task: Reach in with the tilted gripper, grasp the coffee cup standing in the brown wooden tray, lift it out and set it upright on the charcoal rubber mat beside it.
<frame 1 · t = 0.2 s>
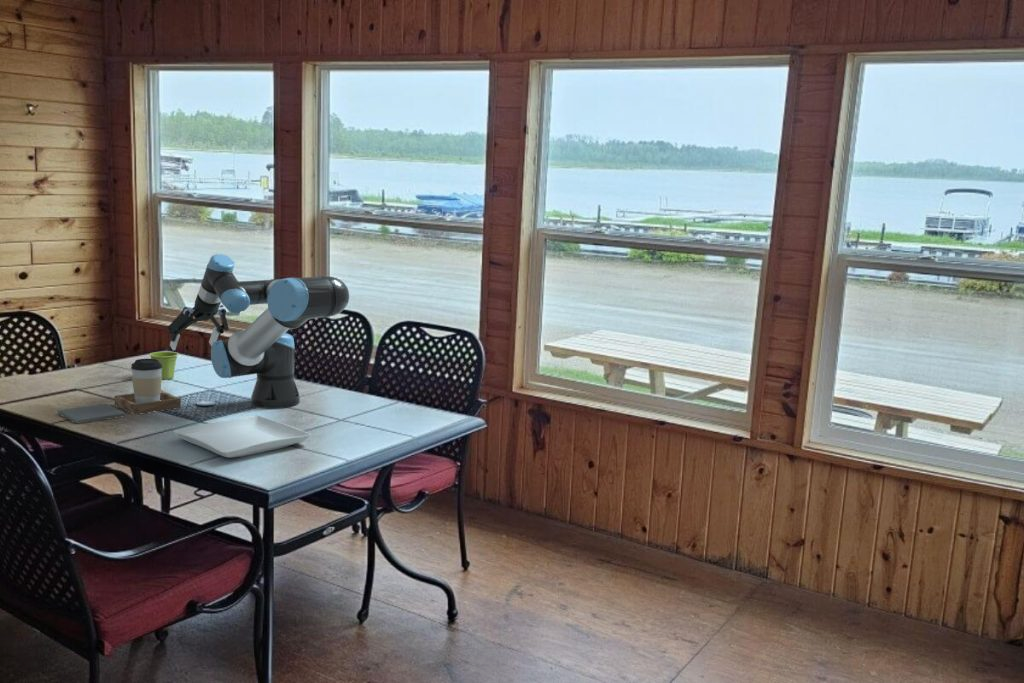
hand: (192, 346, 301), 15 cm above the table, tool tilted 35°, fingers open, 13 cm apart
brown wooden tray: (147, 406, 282), on the table
rubber mat: (91, 415, 270), on the table
square plate: (242, 445, 250), on the table
plant pot: (164, 378, 321), on the table
coffee cup: (147, 407, 282), resting in brown wooden tray
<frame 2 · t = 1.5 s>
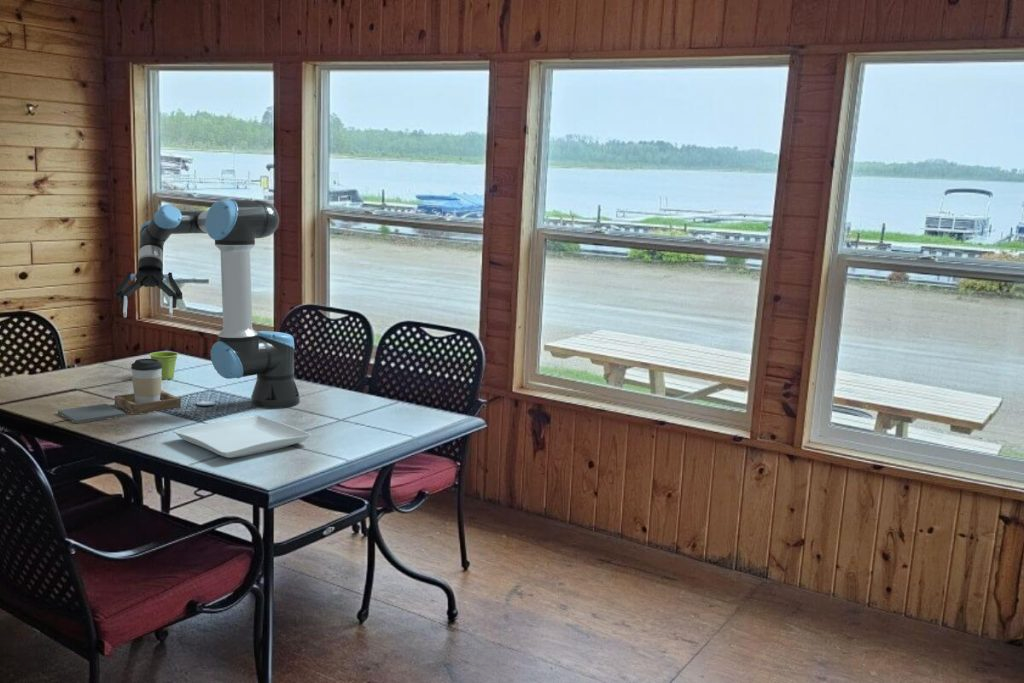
hand: (147, 315, 288), 27 cm above the table, tool tilted 45°, fingers open, 13 cm apart
nothing on the table moved.
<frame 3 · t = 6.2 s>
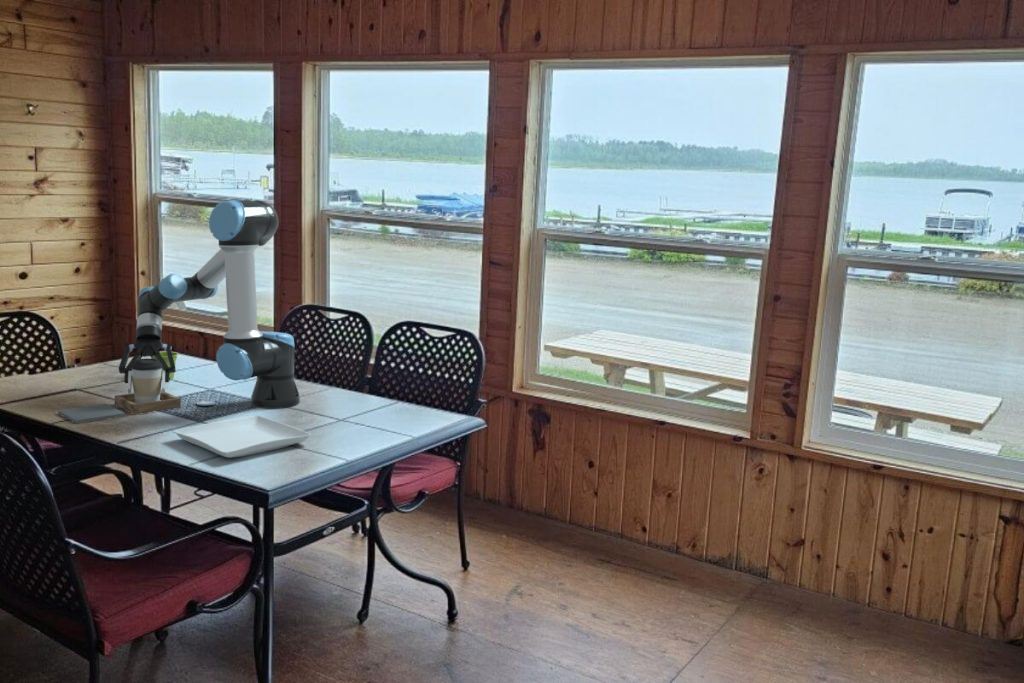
hand: (146, 390, 278), 6 cm above the table, tool tilted 45°, fingers closed on coffee cup, 9 cm apart
coffee cup: (147, 407, 282), resting in brown wooden tray, touching gripper
everything else where it was.
when the fingers open (8 cm above the table, at t = 13.0 s): coffee cup drops 1 cm, resting on rubber mat.
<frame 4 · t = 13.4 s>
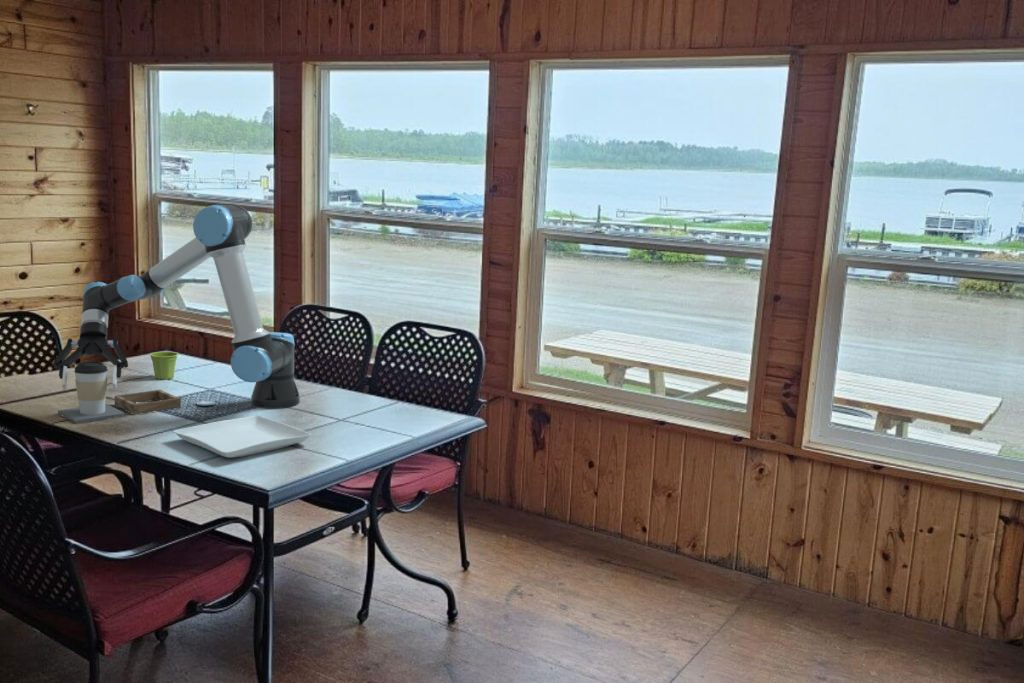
hand: (89, 386, 267), 9 cm above the table, tool tilted 45°, fingers open, 13 cm apart
coffee cup: (92, 412, 270), point 1 cm above the table, touching rubber mat
everything else where it was.
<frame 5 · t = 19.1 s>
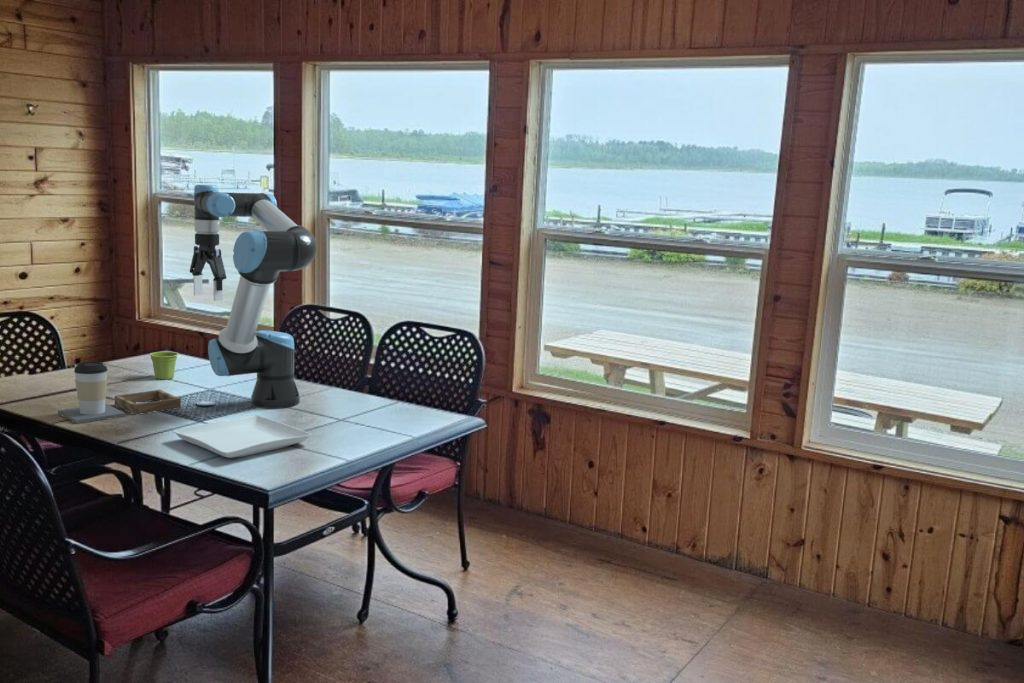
hand: (208, 297, 298), 32 cm above the table, tool pointing down, fingers open, 13 cm apart
nothing on the table moved.
at the end: coffee cup inside the target area (0.3 cm from its centre), point 0.8 cm above the table; coffee cup tilted 0°; the gripper is holding nothing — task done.
